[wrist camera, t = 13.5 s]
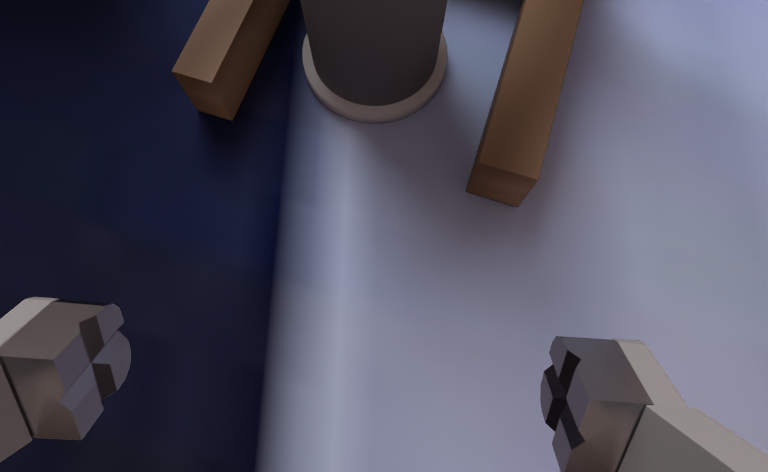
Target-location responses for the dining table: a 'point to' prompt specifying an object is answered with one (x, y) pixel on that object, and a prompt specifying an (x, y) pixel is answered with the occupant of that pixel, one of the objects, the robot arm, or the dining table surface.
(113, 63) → the dining table surface
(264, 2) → the wooden frame
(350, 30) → the grey mushroom bollard
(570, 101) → the dining table surface
